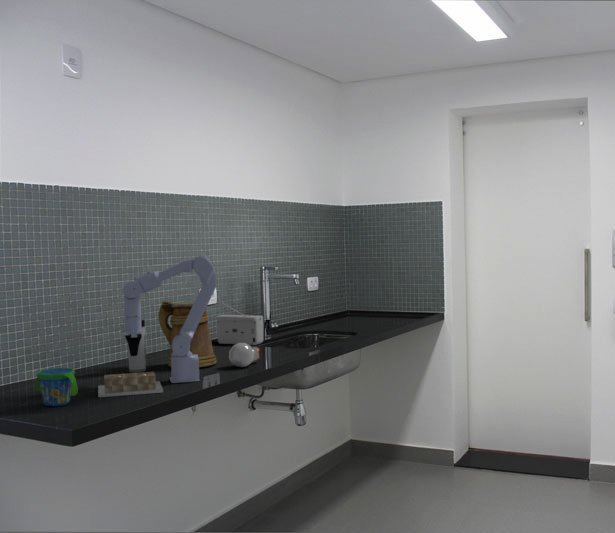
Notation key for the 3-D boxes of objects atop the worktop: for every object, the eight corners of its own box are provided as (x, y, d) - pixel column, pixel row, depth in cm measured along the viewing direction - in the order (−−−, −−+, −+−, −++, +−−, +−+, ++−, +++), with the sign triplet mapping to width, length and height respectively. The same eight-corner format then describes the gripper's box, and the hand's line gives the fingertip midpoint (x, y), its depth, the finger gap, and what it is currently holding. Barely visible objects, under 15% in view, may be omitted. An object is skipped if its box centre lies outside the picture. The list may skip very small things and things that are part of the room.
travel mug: (124, 371, 269) (123, 318, 268) (139, 368, 273) (138, 316, 273) (134, 373, 264) (132, 319, 264) (149, 370, 269) (148, 317, 268)
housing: (154, 383, 241) (153, 371, 241) (155, 387, 234) (155, 375, 234) (104, 387, 236) (104, 375, 236) (104, 391, 230) (104, 379, 229)
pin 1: (121, 385, 236) (121, 374, 236) (121, 387, 233) (121, 376, 233) (112, 386, 235) (112, 375, 235) (113, 388, 232) (112, 376, 232)
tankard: (204, 370, 268) (203, 303, 267) (148, 368, 275) (146, 303, 273) (223, 362, 285) (222, 299, 284) (169, 360, 292) (168, 298, 291)
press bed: (159, 384, 245) (159, 381, 245) (163, 392, 231) (163, 389, 231) (98, 388, 239) (98, 385, 239) (98, 397, 226) (98, 394, 226)
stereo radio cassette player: (264, 343, 333) (263, 300, 332) (256, 346, 325) (255, 302, 324) (224, 341, 340) (223, 299, 339) (215, 344, 332) (214, 301, 332)
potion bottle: (231, 373, 269) (250, 370, 283) (250, 358, 266) (269, 357, 280) (219, 352, 272) (239, 350, 286) (238, 337, 269) (257, 337, 283)
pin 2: (146, 383, 238) (146, 373, 238) (147, 385, 235) (146, 374, 235) (137, 384, 237) (137, 373, 237) (138, 386, 235) (138, 375, 234)
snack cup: (88, 403, 217) (87, 370, 217) (58, 411, 209) (56, 376, 208) (56, 397, 226) (55, 365, 226) (26, 404, 218) (25, 371, 217)
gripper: (120, 314, 252) (121, 353, 253) (121, 319, 238) (122, 359, 239) (140, 313, 254) (141, 351, 255) (143, 318, 240) (144, 358, 241)
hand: (133, 355), depth 247 cm, fingers closed
